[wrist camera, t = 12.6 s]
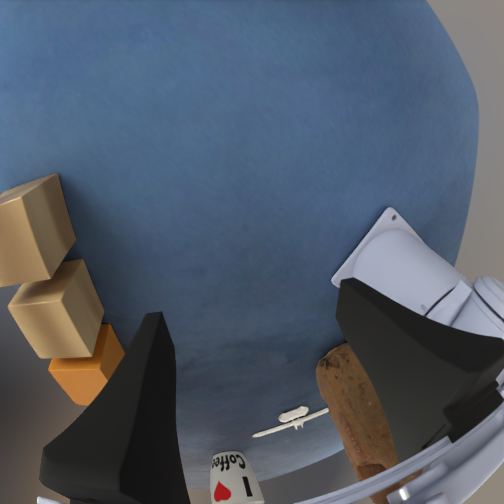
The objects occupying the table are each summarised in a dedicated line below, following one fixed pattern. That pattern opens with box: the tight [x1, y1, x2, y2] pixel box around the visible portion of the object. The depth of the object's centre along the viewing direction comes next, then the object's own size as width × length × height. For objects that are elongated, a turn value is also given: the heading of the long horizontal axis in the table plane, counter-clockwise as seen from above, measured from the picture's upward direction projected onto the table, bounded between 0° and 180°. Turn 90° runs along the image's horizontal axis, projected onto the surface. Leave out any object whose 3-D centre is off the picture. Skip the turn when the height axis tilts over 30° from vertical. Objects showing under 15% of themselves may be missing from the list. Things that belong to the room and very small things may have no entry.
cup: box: [210, 451, 264, 504], centre depth 35 cm, size 8×8×10 cm
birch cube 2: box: [8, 259, 105, 358], centre depth 17 cm, size 5×5×5 cm
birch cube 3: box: [0, 173, 76, 287], centre depth 14 cm, size 5×5×5 cm
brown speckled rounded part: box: [316, 343, 423, 504], centre depth 21 cm, size 11×8×20 cm
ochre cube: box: [48, 324, 125, 405], centre depth 20 cm, size 5×5×5 cm
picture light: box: [252, 406, 329, 437], centre depth 34 cm, size 14×4×2 cm, turn 109°
